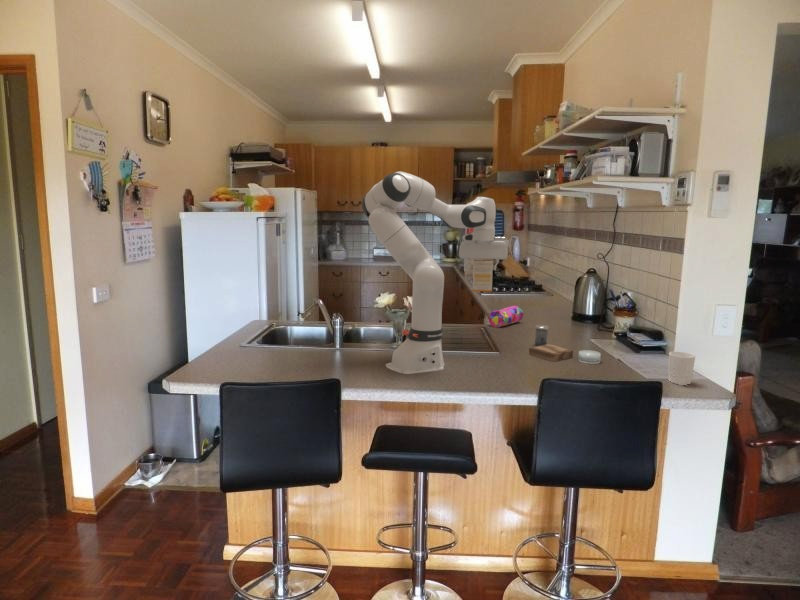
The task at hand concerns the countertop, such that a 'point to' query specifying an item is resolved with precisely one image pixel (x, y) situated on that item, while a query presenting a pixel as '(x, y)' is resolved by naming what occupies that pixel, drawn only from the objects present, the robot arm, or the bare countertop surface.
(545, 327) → the spice tin
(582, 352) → the ramekin
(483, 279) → the supplement box
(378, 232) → the robot arm
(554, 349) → the podium
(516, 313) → the pencil case
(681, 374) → the white cup
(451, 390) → the countertop surface
